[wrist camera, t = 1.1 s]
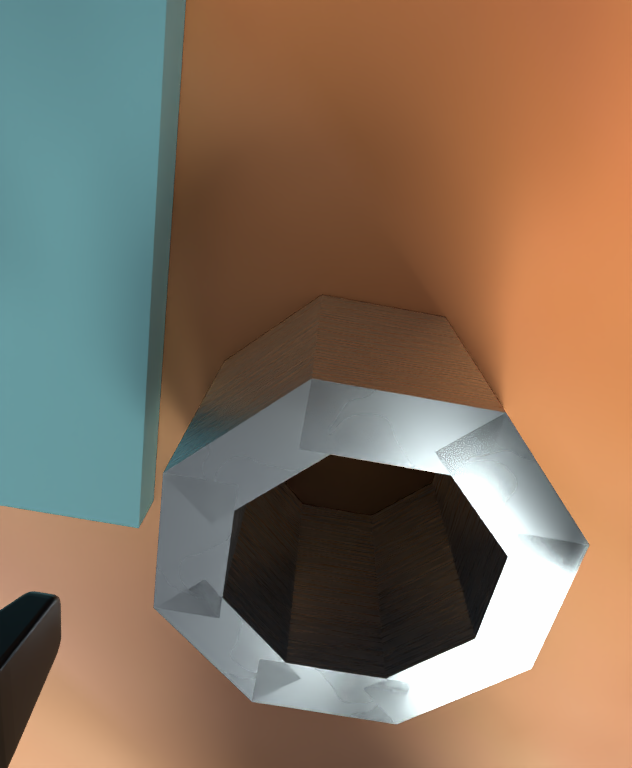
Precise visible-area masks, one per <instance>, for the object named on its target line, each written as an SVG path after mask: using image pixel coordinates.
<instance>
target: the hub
mask: <svg viewBox="0 0 632 768" xmlns="http://www.w3.org/2000/svg"><path fill="white" fill-rule="evenodd" d="M330 454H331V455H336V456H342V457H348V458H354V459H360V460H366V461H371V462H377V463H383V464H389V465H395V466H401V467H406V468H412V469H418V470H424V471H430V472H435V475H434V478H433V482H432V483H431V484H429V485H427V486H425V487H423V488H422V489H420V490H418V491H416V492H414V493H412V494H410V495H409V496H407V497H405V498H403V499H401V500H399V501H397V502H396V503H394V504H392V505H390V506H388V507H386V508H384V509H383V510H381V511H379V512H377V513H375V514H373V515H365V514H359V513H353V512H347V511H341V510H335V509H329V508H323V507H317V506H311V505H305V504H302V503H301V501H300V500H299V499H298V498H297V497H296V495H295V494H294V493H293V492H292V491H291V490H290V488H289V487H288V486H287V485H286V484H285V482H284V481H286V480H288V479H289V478H291V477H293V476H295V475H296V474H298V473H300V472H301V471H303V470H305V469H307V468H308V467H310V466H312V465H313V464H315V463H317V462H318V461H320V460H322V459H324V458H325V457H327V456H329V455H330ZM588 547H589V543H588V542H587V540H586V539H585V537H584V536H583V534H582V532H581V531H580V529H579V528H578V526H577V524H576V523H575V521H574V520H573V518H572V517H571V515H570V513H569V512H568V510H567V509H566V507H565V506H564V504H563V502H562V501H561V499H560V498H559V496H558V494H557V493H556V491H555V490H554V488H553V486H552V485H551V483H550V482H549V480H548V479H547V477H546V475H545V474H544V472H543V471H542V469H541V467H540V466H539V464H538V463H537V461H536V460H535V458H534V456H533V455H532V453H531V452H530V450H529V448H528V447H527V445H526V444H525V442H524V441H523V439H522V437H521V436H520V434H519V433H518V431H517V429H516V428H515V426H514V425H513V423H512V422H511V420H510V418H509V417H508V415H507V414H506V412H505V410H504V409H503V407H502V406H501V404H500V402H499V401H498V399H497V398H496V396H495V395H494V393H493V391H492V390H491V388H490V387H489V385H488V384H487V382H486V380H485V379H484V377H483V376H482V374H481V372H480V371H479V369H478V368H477V366H476V365H475V363H474V361H473V360H472V358H471V357H470V355H469V354H468V352H467V350H466V349H465V347H464V346H463V344H462V343H461V341H460V339H459V338H458V336H457V335H456V333H455V331H454V330H453V328H452V327H451V325H450V324H449V322H448V320H447V319H446V317H443V316H437V315H431V314H426V313H420V312H415V311H409V310H404V309H398V308H393V307H387V306H382V305H376V304H371V303H365V302H360V301H354V300H349V299H343V298H337V297H332V296H326V295H321V296H319V297H318V298H317V299H315V300H314V301H312V302H311V303H309V304H308V305H306V306H305V307H303V308H302V309H300V310H299V311H297V312H296V313H295V314H293V315H292V316H290V317H289V318H287V319H286V320H284V321H283V322H281V323H280V324H278V325H277V326H275V327H274V328H272V329H271V330H270V331H268V332H267V333H265V334H264V335H262V336H261V337H259V338H258V339H256V340H255V341H253V342H252V343H250V344H249V345H248V346H246V347H245V348H243V349H242V350H240V351H239V352H237V353H236V354H234V355H233V356H231V357H230V358H228V359H227V360H225V361H224V363H223V365H222V367H221V368H220V370H219V372H218V374H217V376H216V378H215V379H214V381H213V383H212V385H211V387H210V388H209V390H208V392H207V394H206V396H205V398H204V399H203V401H202V403H201V405H200V407H199V409H198V410H197V412H196V414H195V416H194V418H193V419H192V421H191V423H190V425H189V427H188V429H187V430H186V432H185V434H184V436H183V438H182V440H181V441H180V443H179V445H178V447H177V449H176V451H175V452H174V454H173V456H172V458H171V460H170V461H169V463H168V465H167V467H166V469H165V471H164V472H163V483H162V497H161V511H160V525H159V539H158V553H157V567H156V581H155V595H154V609H155V610H157V611H158V612H159V613H160V614H161V615H162V616H163V617H164V618H165V619H166V620H167V621H168V622H169V623H170V624H171V625H172V626H173V627H174V628H175V629H176V630H177V631H178V632H180V633H181V634H182V635H183V636H184V637H185V638H186V639H187V640H188V641H189V642H190V643H191V644H192V645H193V646H194V647H195V648H196V649H197V650H198V651H199V652H200V653H201V654H202V655H204V656H205V657H206V658H207V659H208V660H209V661H210V662H211V663H212V664H213V665H214V666H215V667H216V668H217V669H218V670H219V671H220V672H221V673H222V674H223V675H224V676H225V677H227V678H228V679H229V680H230V681H231V682H232V683H233V684H234V685H235V686H236V687H237V688H238V689H239V690H240V691H241V692H242V693H243V694H244V695H245V696H246V697H247V698H248V699H250V700H251V701H252V702H257V703H263V704H269V705H276V706H282V707H288V708H295V709H301V710H308V711H314V712H320V713H327V714H333V715H340V716H346V717H352V718H359V719H365V720H371V721H378V722H384V723H391V724H399V723H401V722H404V721H406V720H408V719H411V718H413V717H416V716H418V715H420V714H423V713H425V712H428V711H430V710H433V709H435V708H437V707H440V706H442V705H445V704H447V703H449V702H452V701H454V700H457V699H459V698H461V697H464V696H466V695H469V694H471V693H473V692H476V691H478V690H481V689H483V688H486V687H488V686H490V685H493V684H495V683H498V682H500V681H502V680H505V679H507V678H510V677H512V676H514V675H517V674H519V673H522V672H524V671H527V670H529V669H531V668H532V666H533V664H534V662H535V660H536V657H537V655H538V653H539V651H540V649H541V647H542V645H543V643H544V640H545V638H546V636H547V634H548V632H549V630H550V628H551V626H552V623H553V621H554V619H555V617H556V615H557V613H558V611H559V609H560V606H561V604H562V602H563V600H564V598H565V596H566V594H567V592H568V589H569V587H570V585H571V583H572V581H573V579H574V577H575V575H576V572H577V570H578V568H579V566H580V564H581V562H582V560H583V558H584V555H585V553H586V551H587V549H588Z"/></svg>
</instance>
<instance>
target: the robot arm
mask: <svg viewBox="0 0 632 768" xmlns="http://www.w3.org/2000/svg"><path fill="white" fill-rule="evenodd" d="M60 641H61V604H60V599H59V597H58V596H56V595H53V594H47V593H41V592H28V593H26V594H24V595H22V596H21V597H19V598H18V599H16V600H15V601H13V602H12V603H10V604H9V605H7V606H6V607H4V608H3V609H1V610H0V768H8V766H9V764H10V762H11V759H12V757H13V755H14V753H15V751H16V748H17V746H18V744H19V741H20V739H21V737H22V734H23V732H24V730H25V727H26V725H27V723H28V720H29V718H30V716H31V713H32V711H33V709H34V706H35V704H36V702H37V699H38V697H39V695H40V692H41V690H42V688H43V685H44V683H45V681H46V678H47V676H48V674H49V671H50V669H51V667H52V664H53V662H54V660H55V657H56V655H57V652H58V649H59V646H60Z"/></svg>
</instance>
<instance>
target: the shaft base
mask: <svg viewBox="0 0 632 768" xmlns="http://www.w3.org/2000/svg"><path fill="white" fill-rule="evenodd" d="M185 7H186V0H0V505H1V506H8V507H14V508H20V509H26V510H32V511H38V512H44V513H50V514H56V515H62V516H68V517H74V518H80V519H86V520H92V521H98V522H104V523H110V524H116V525H122V526H128V527H134V528H139V527H140V525H141V523H142V521H143V519H144V517H145V516H146V514H147V512H148V510H149V508H150V506H151V504H152V502H153V501H154V486H155V471H156V455H157V440H158V424H159V409H160V393H161V378H162V362H163V347H164V332H165V316H166V301H167V285H168V270H169V254H170V239H171V223H172V208H173V192H174V177H175V162H176V146H177V131H178V115H179V100H180V84H181V69H182V53H183V38H184V22H185Z"/></svg>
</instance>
